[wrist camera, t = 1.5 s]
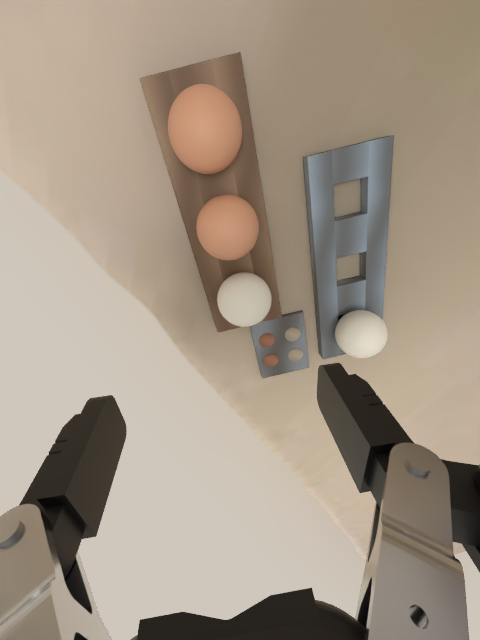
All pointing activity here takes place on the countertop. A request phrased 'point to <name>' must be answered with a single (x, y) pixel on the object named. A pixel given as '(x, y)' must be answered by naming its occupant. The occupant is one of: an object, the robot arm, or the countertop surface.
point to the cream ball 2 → (361, 334)
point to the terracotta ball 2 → (227, 227)
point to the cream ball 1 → (244, 299)
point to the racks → (244, 181)
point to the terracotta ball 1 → (204, 128)
